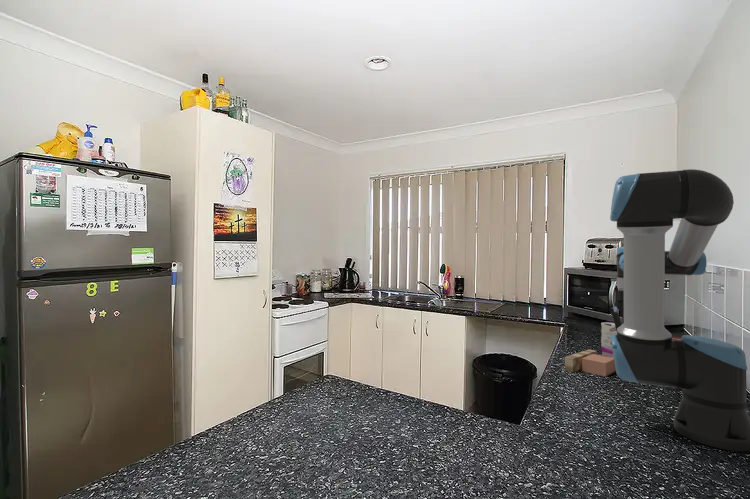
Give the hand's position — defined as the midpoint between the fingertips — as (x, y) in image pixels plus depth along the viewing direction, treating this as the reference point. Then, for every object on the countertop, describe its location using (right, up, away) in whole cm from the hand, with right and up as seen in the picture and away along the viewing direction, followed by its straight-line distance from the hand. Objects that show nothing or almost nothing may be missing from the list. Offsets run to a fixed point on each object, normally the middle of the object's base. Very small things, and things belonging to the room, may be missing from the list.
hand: (630, 357), depth 132 cm
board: (-10, -8, +14) cm, 19 cm away
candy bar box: (+6, -8, +15) cm, 18 cm away
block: (-6, -8, +9) cm, 14 cm away
